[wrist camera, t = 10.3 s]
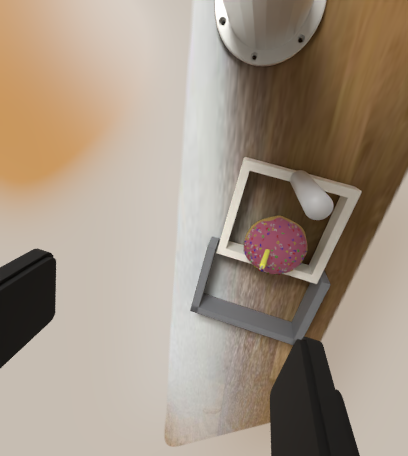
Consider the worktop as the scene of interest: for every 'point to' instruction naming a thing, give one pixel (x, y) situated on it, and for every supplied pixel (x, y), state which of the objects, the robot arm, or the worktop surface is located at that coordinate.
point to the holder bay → (254, 318)
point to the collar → (312, 205)
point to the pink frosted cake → (275, 245)
